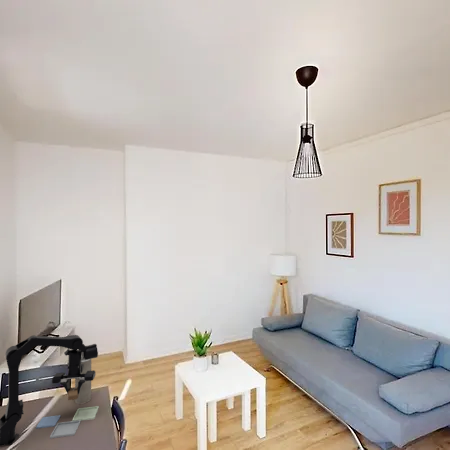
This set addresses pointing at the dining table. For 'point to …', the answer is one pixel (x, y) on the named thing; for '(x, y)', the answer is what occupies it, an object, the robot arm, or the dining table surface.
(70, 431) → the grey tray
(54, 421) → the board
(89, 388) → the thermos bottle
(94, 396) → the dining table surface
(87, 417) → the green tray
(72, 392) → the letter cube
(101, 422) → the dining table surface
